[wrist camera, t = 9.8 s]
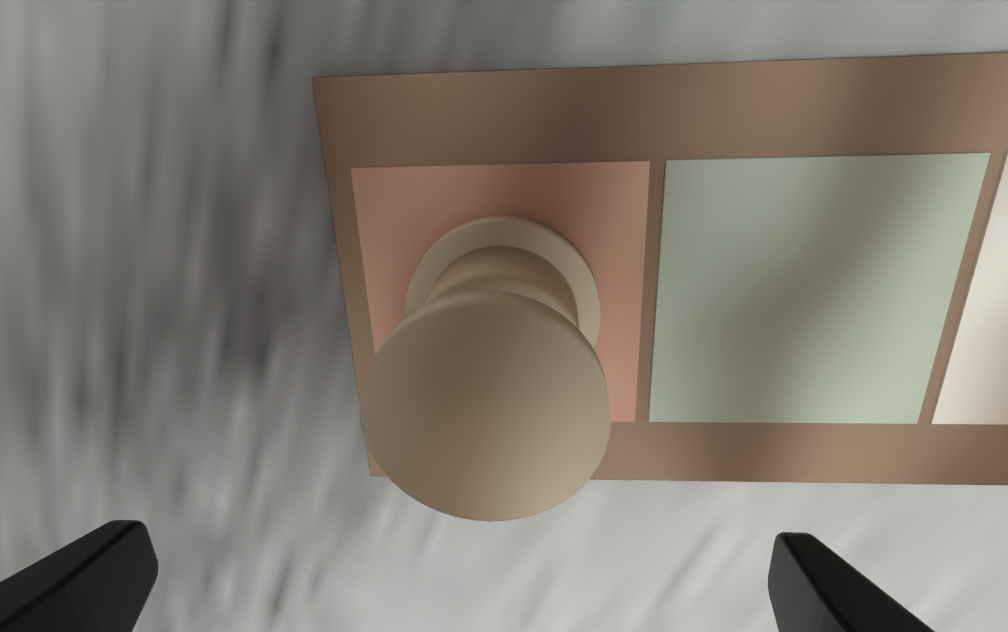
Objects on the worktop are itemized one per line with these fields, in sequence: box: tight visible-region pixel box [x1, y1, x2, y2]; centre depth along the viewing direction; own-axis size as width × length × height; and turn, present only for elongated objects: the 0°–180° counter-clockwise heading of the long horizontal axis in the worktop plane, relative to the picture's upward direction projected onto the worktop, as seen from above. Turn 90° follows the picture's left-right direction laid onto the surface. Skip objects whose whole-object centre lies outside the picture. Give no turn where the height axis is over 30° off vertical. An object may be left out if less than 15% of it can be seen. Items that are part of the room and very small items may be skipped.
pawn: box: [360, 215, 611, 521], centre depth 14 cm, size 5×5×6 cm
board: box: [312, 53, 1008, 485], centre depth 16 cm, size 25×12×1 cm, turn 92°
